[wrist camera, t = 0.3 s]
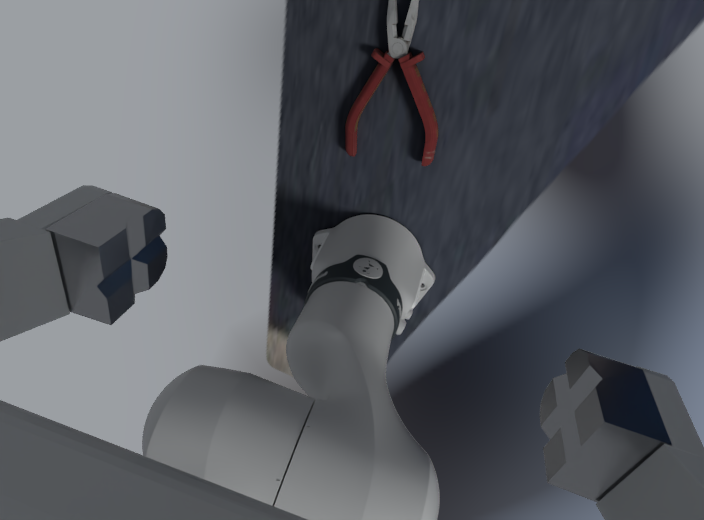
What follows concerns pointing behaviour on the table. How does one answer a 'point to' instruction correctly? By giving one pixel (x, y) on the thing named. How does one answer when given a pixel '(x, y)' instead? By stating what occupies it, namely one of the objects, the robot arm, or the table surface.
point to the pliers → (412, 75)
